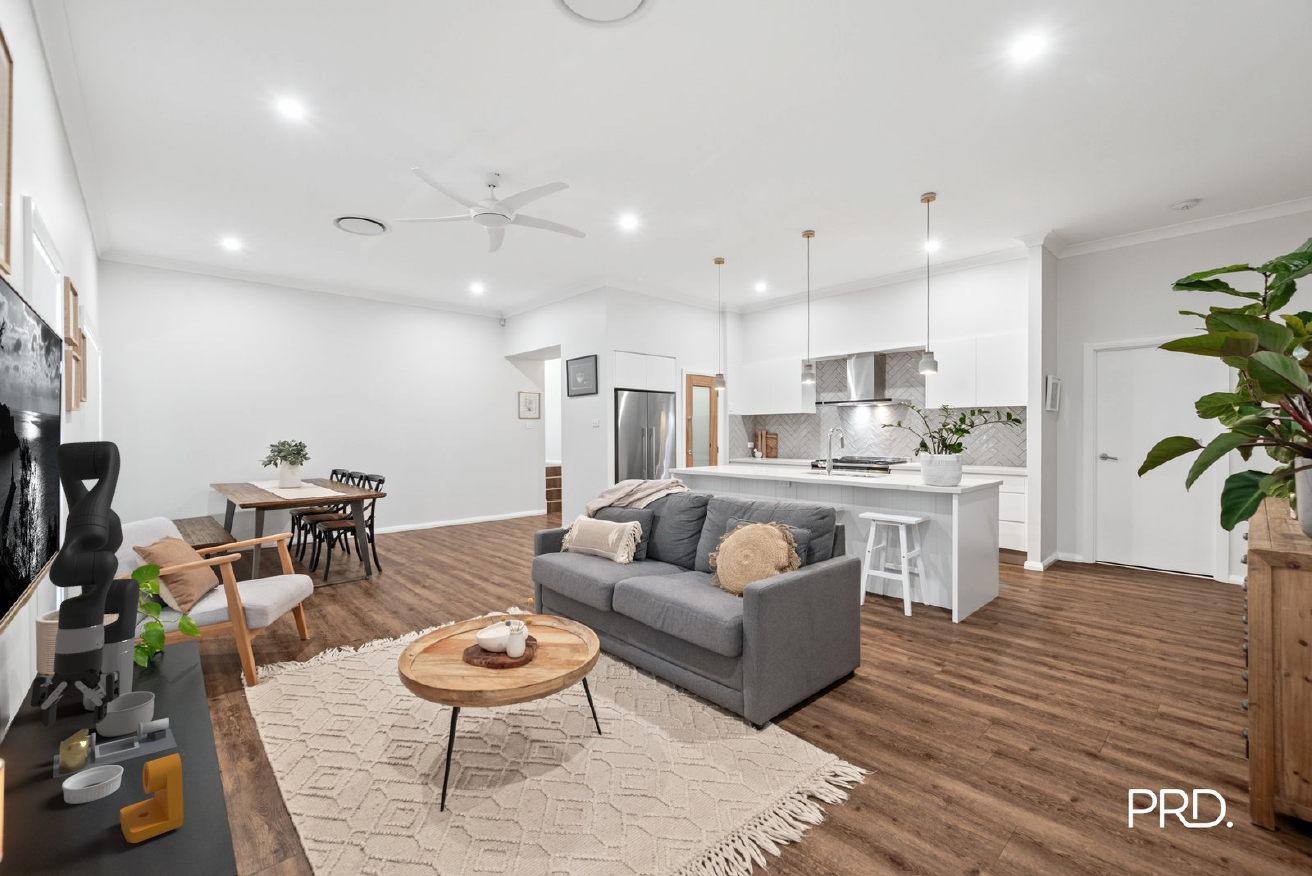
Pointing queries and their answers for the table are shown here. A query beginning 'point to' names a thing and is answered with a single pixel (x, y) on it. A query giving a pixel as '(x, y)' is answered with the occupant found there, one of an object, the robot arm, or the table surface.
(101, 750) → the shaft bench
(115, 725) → the teacup
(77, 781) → the ramekin
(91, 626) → the robot arm
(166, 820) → the bracket
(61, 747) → the gold knob
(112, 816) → the table surface
